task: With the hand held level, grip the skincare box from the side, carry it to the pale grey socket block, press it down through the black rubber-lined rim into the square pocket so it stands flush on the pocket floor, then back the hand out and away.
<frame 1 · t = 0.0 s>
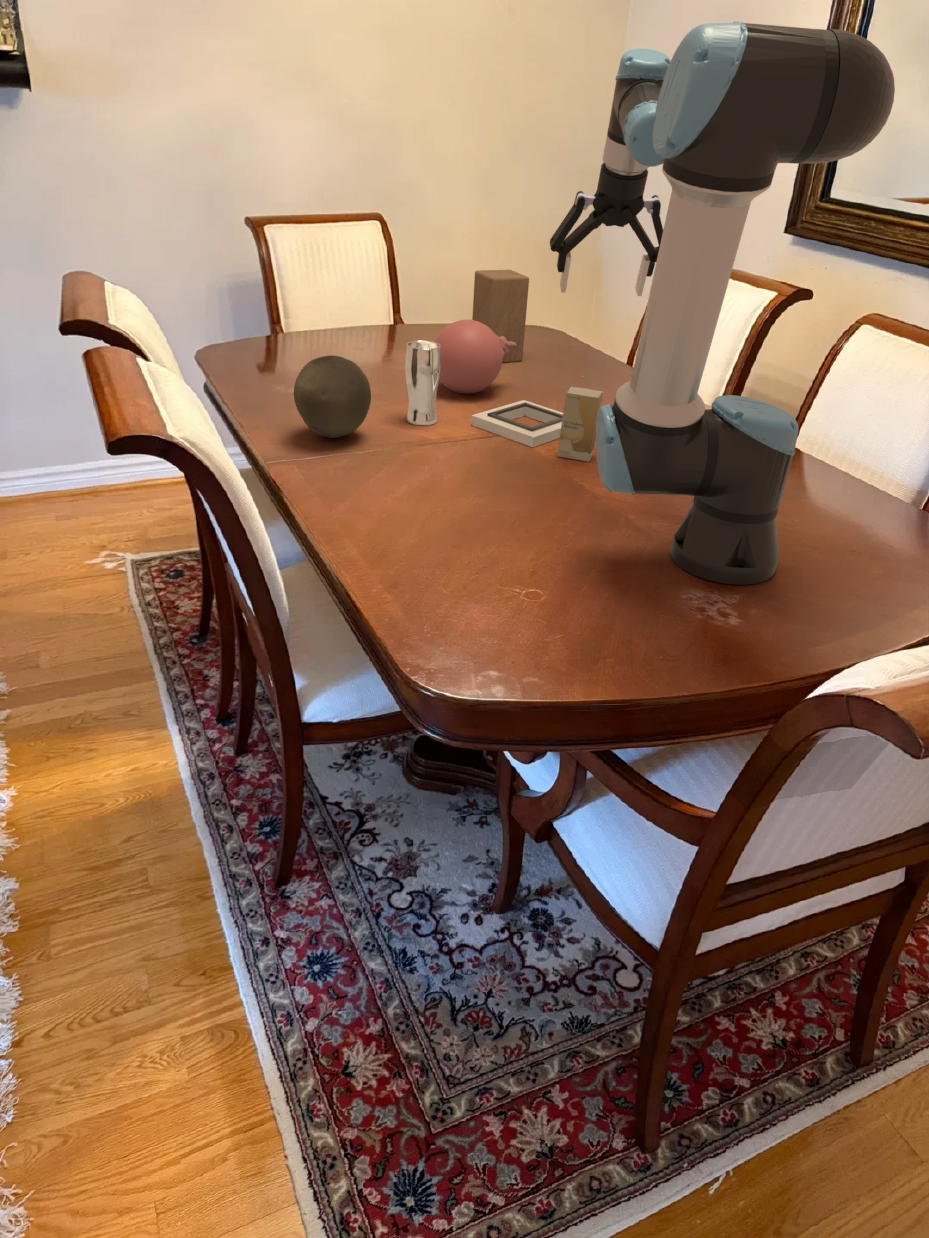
hand: (600, 290, 151), 28 cm above the table, tool tilted 20°, fingers open, 13 cm apart
socket block: (527, 427, 171), on the table
beer glass: (421, 421, 171), on the table
balloon: (474, 392, 190), on the table
skincare box: (575, 457, 159), on the table
wooden block: (495, 358, 215), on the table
dark brown ball: (334, 439, 160), on the table
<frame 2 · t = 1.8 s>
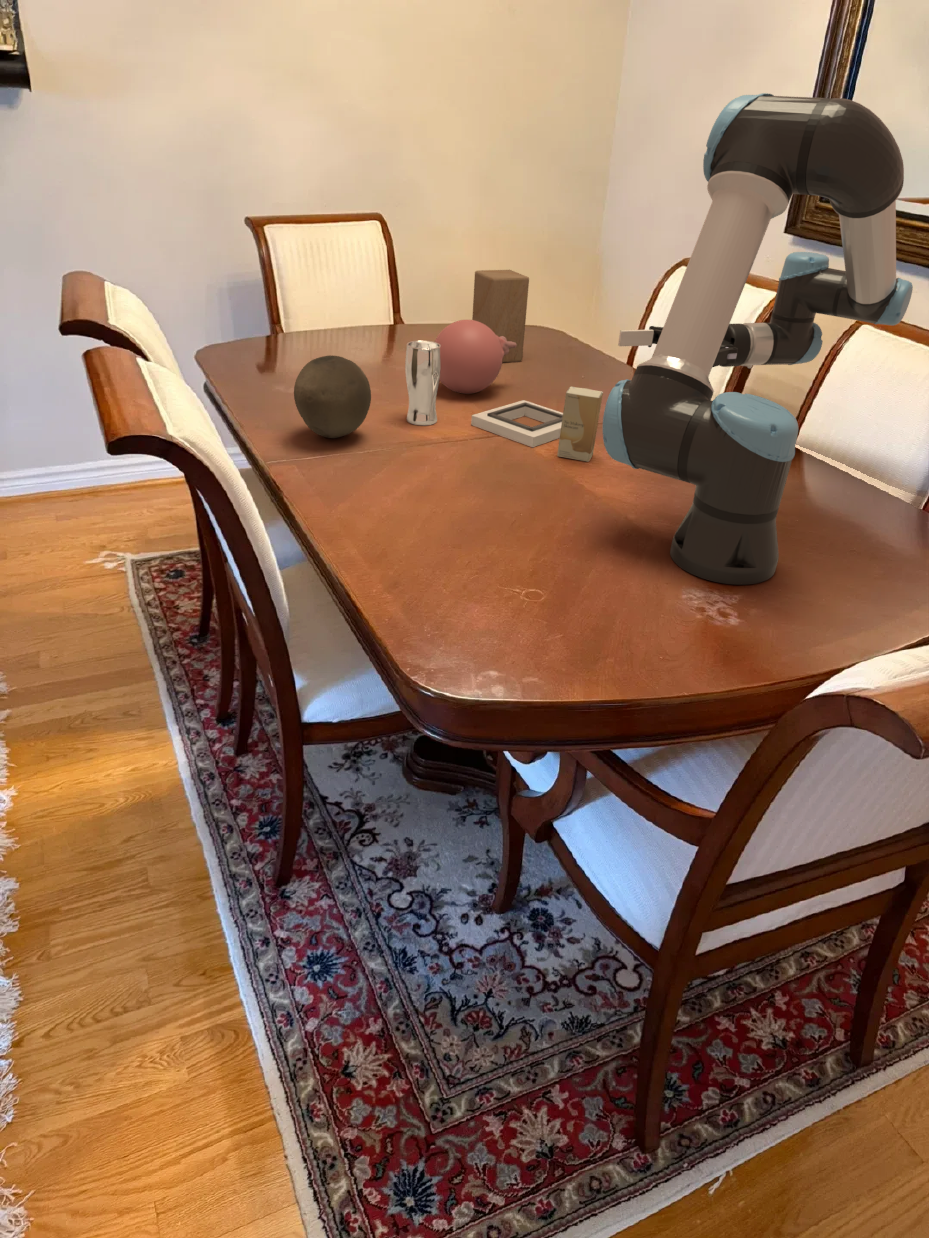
hand: (636, 348, 151), 19 cm above the table, tool horizontal, fingers open, 13 cm apart
nothing on the table moved.
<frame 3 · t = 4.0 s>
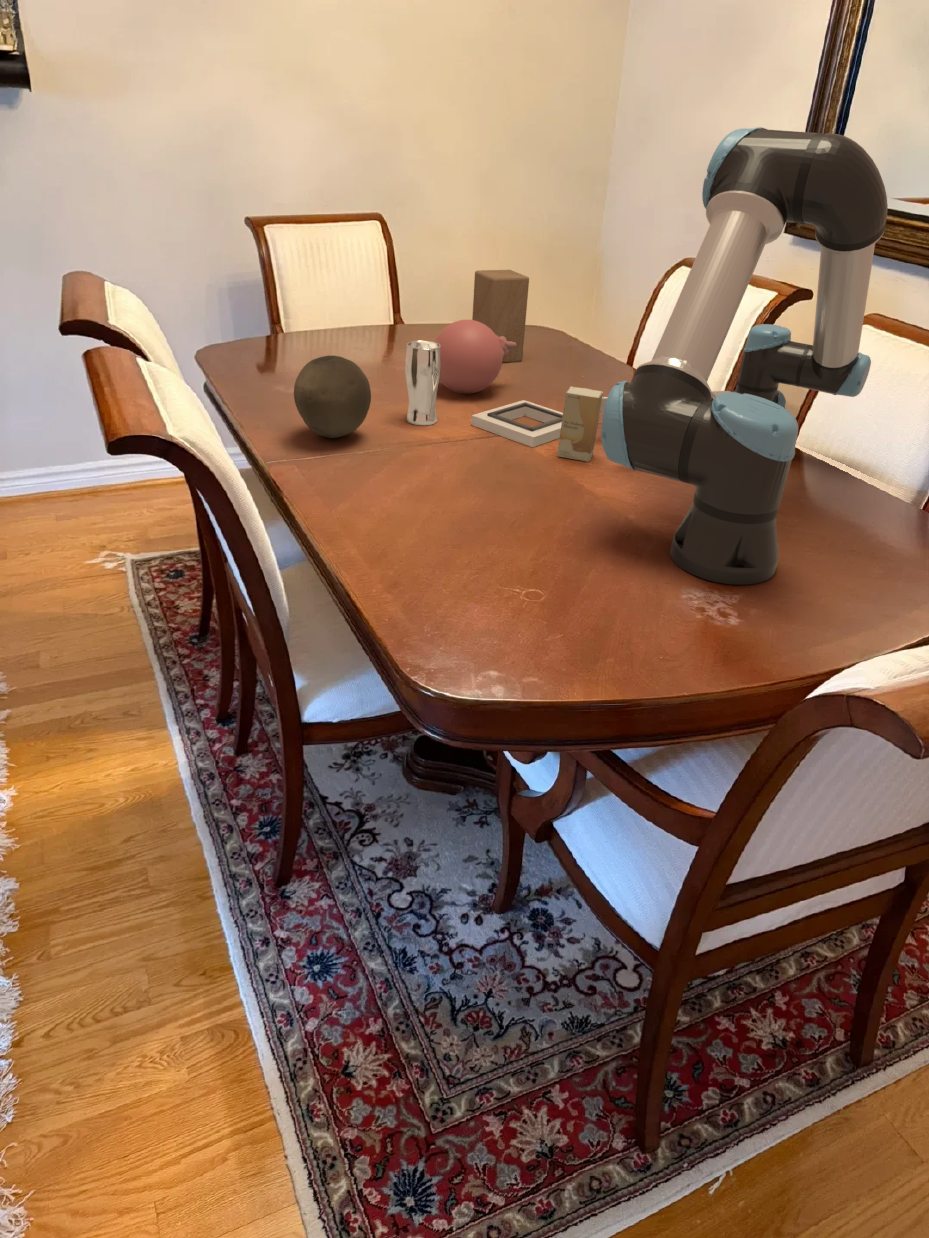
hand: (604, 416, 157), 7 cm above the table, tool horizontal, fingers open, 13 cm apart
nothing on the table moved.
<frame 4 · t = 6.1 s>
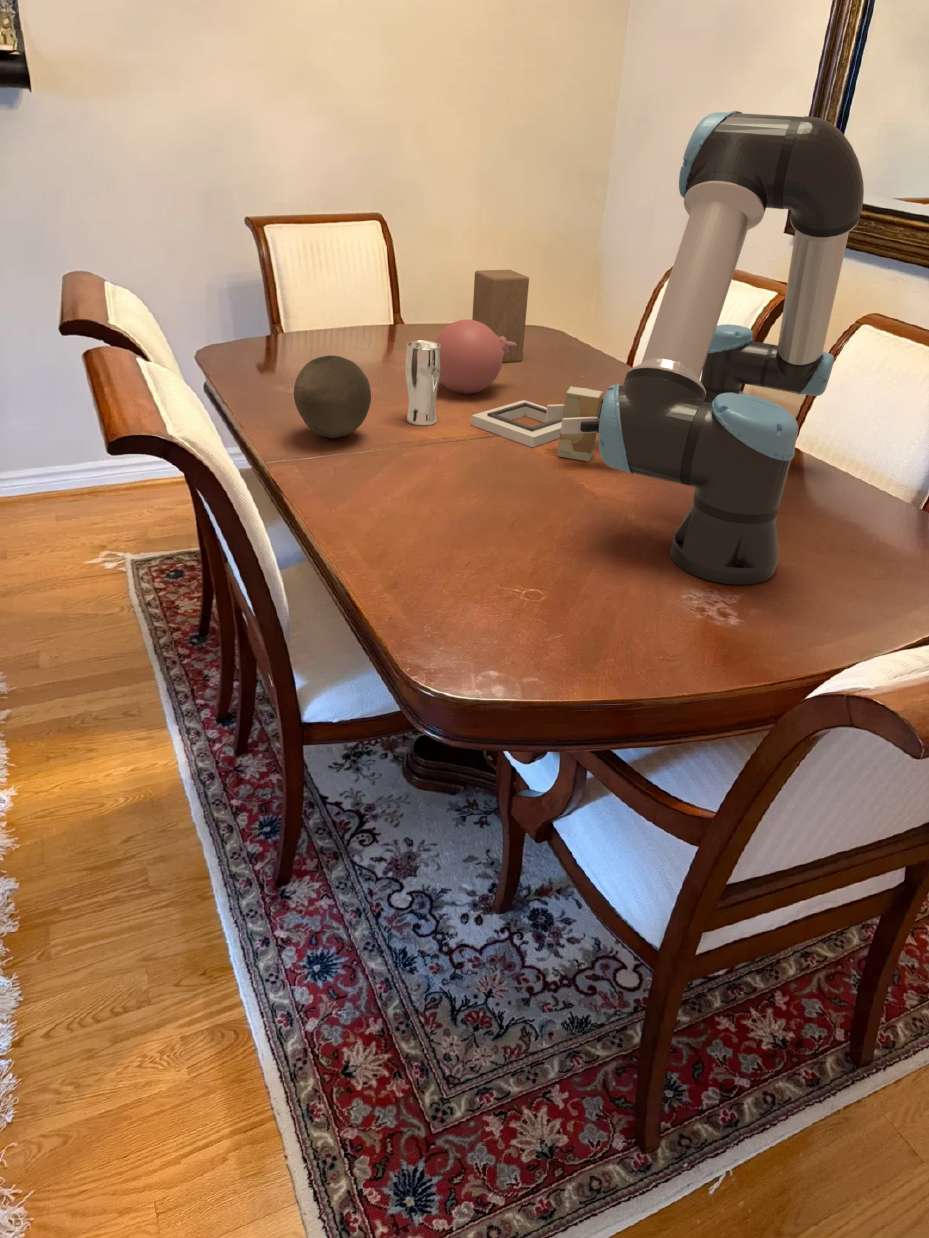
hand: (554, 419, 154), 7 cm above the table, tool horizontal, fingers closed on skincare box, 7 cm apart
skincare box: (575, 457, 159), on the table, touching gripper
everything else where it was.
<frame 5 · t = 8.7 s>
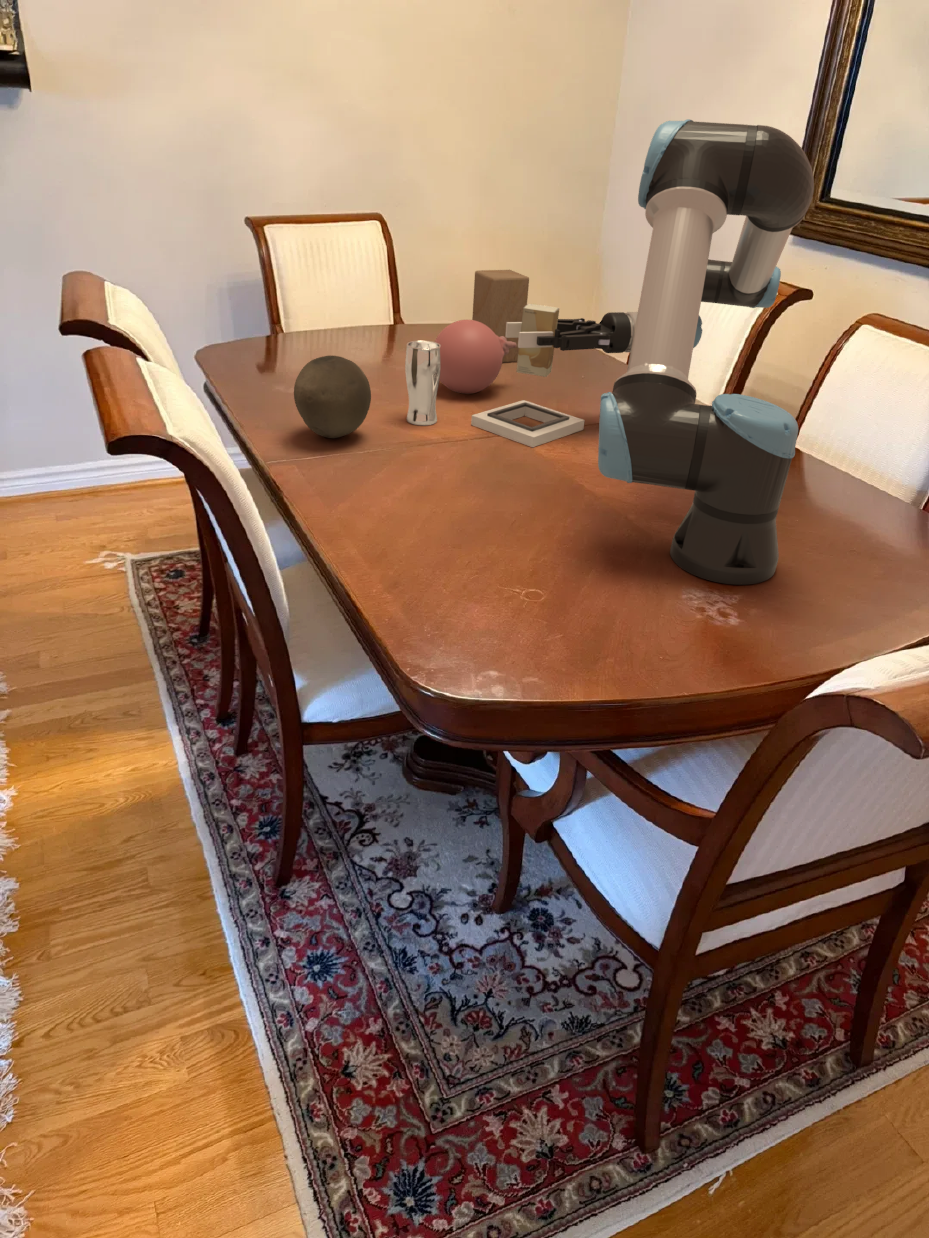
hand: (512, 335, 160), 18 cm above the table, tool horizontal, fingers closed on skincare box, 7 cm apart
skincare box: (534, 373, 165), point 11 cm above the table, touching gripper
everything else where it was.
when the fingers open (8 cm above the table, at t = 11.3 s): skincare box drops 1 cm, resting in socket block.
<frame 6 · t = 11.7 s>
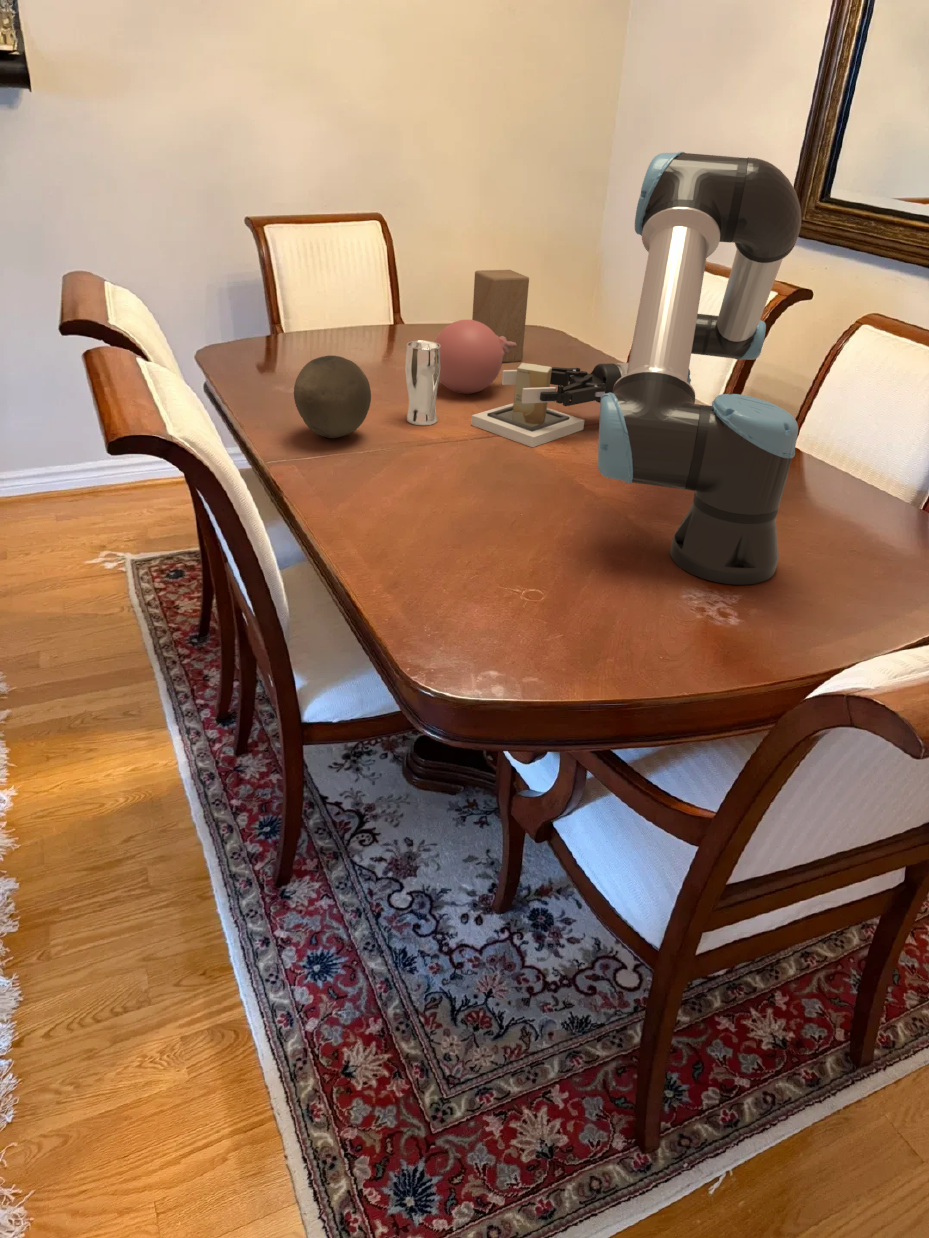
hand: (512, 386, 166), 8 cm above the table, tool horizontal, fingers open, 11 cm apart
skincare box: (528, 429, 171), resting in socket block
everything else where it was.
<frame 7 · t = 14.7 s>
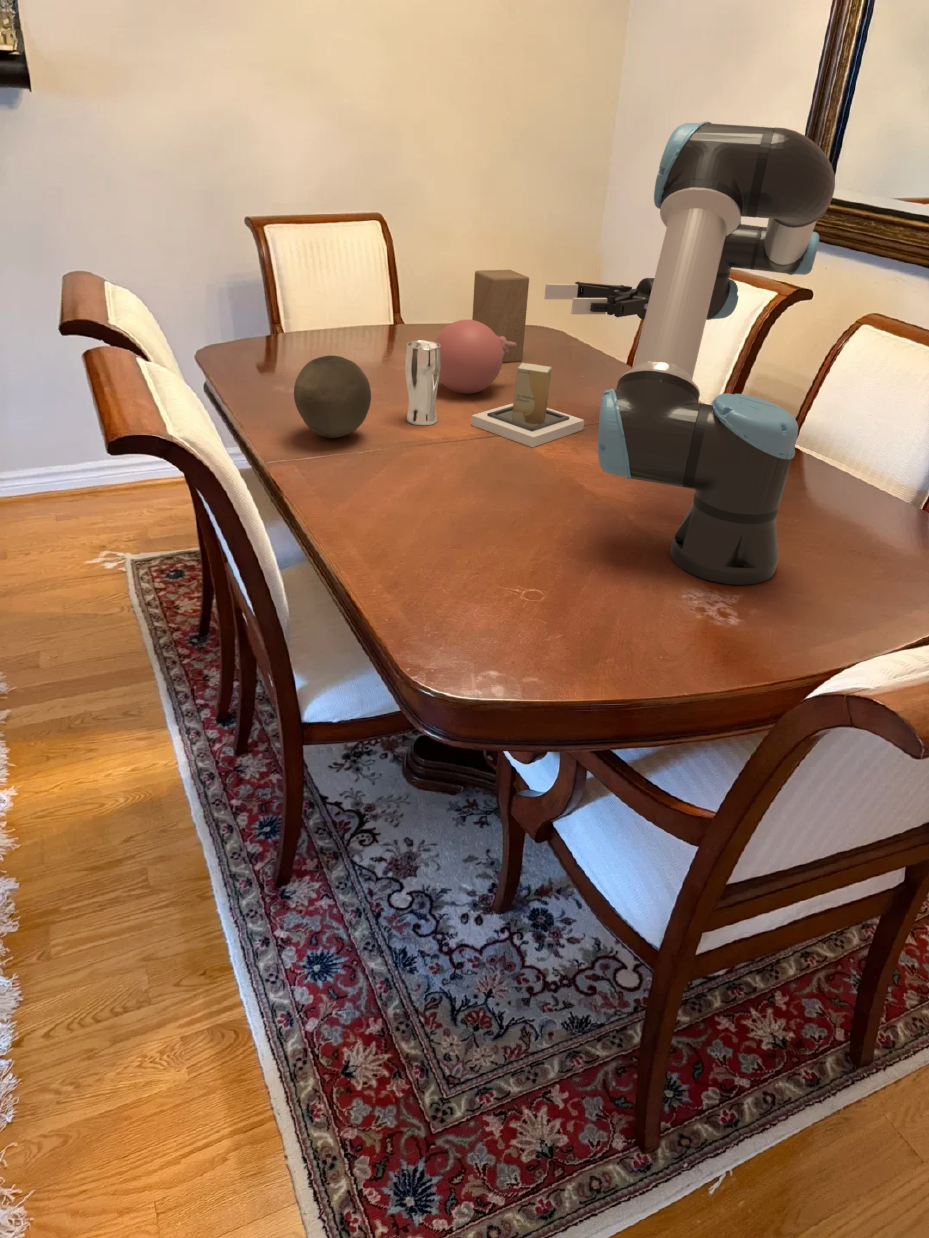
hand: (558, 298, 159), 25 cm above the table, tool horizontal, fingers open, 13 cm apart
nothing on the table moved.
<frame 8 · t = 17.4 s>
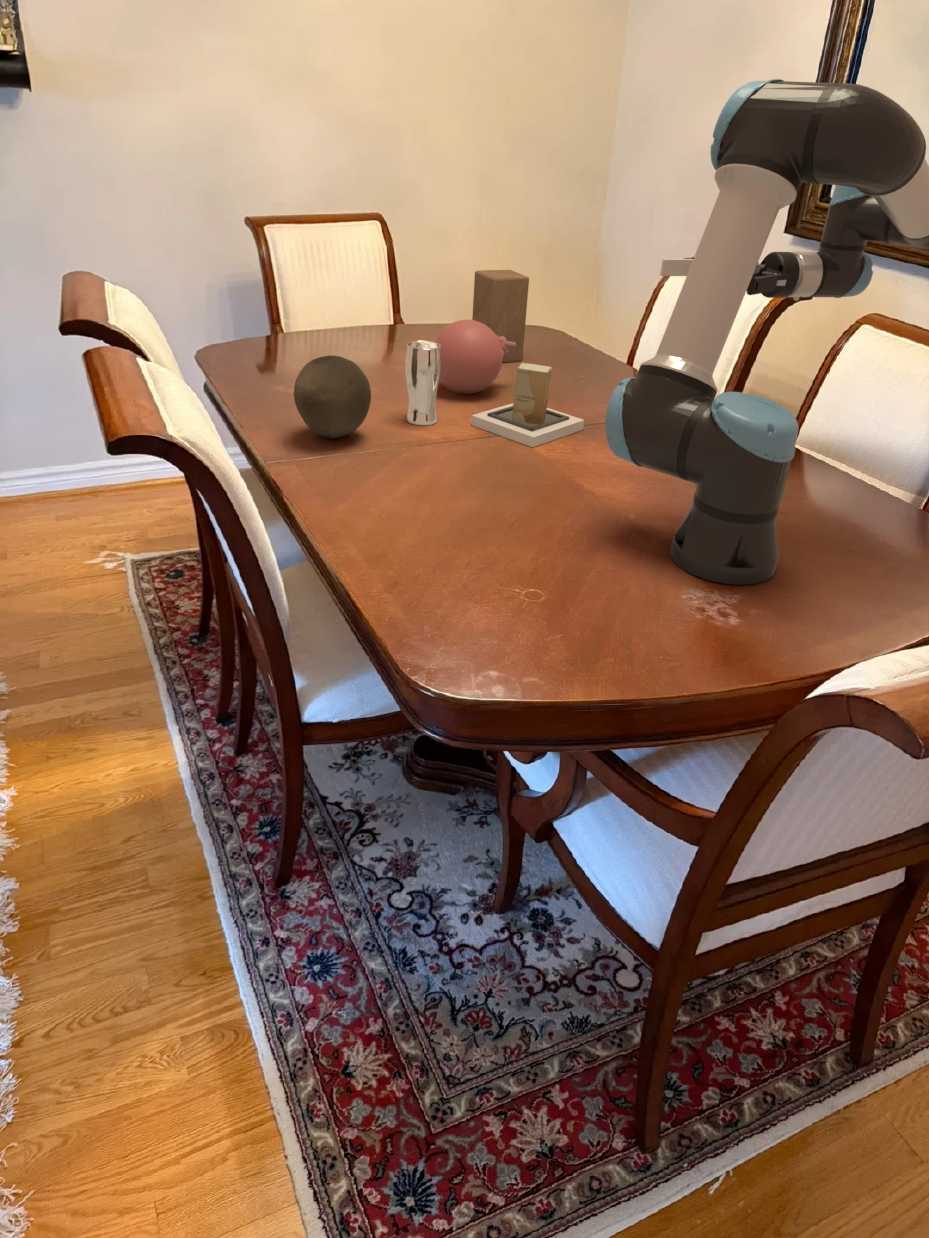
hand: (680, 275, 145), 32 cm above the table, tool horizontal, fingers open, 13 cm apart
nothing on the table moved.
at the end: skincare box 0.3 cm off-centre on the socket block, point 0.0 cm above the socket block's base; skincare box tilted 0°; the gripper is holding nothing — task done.
